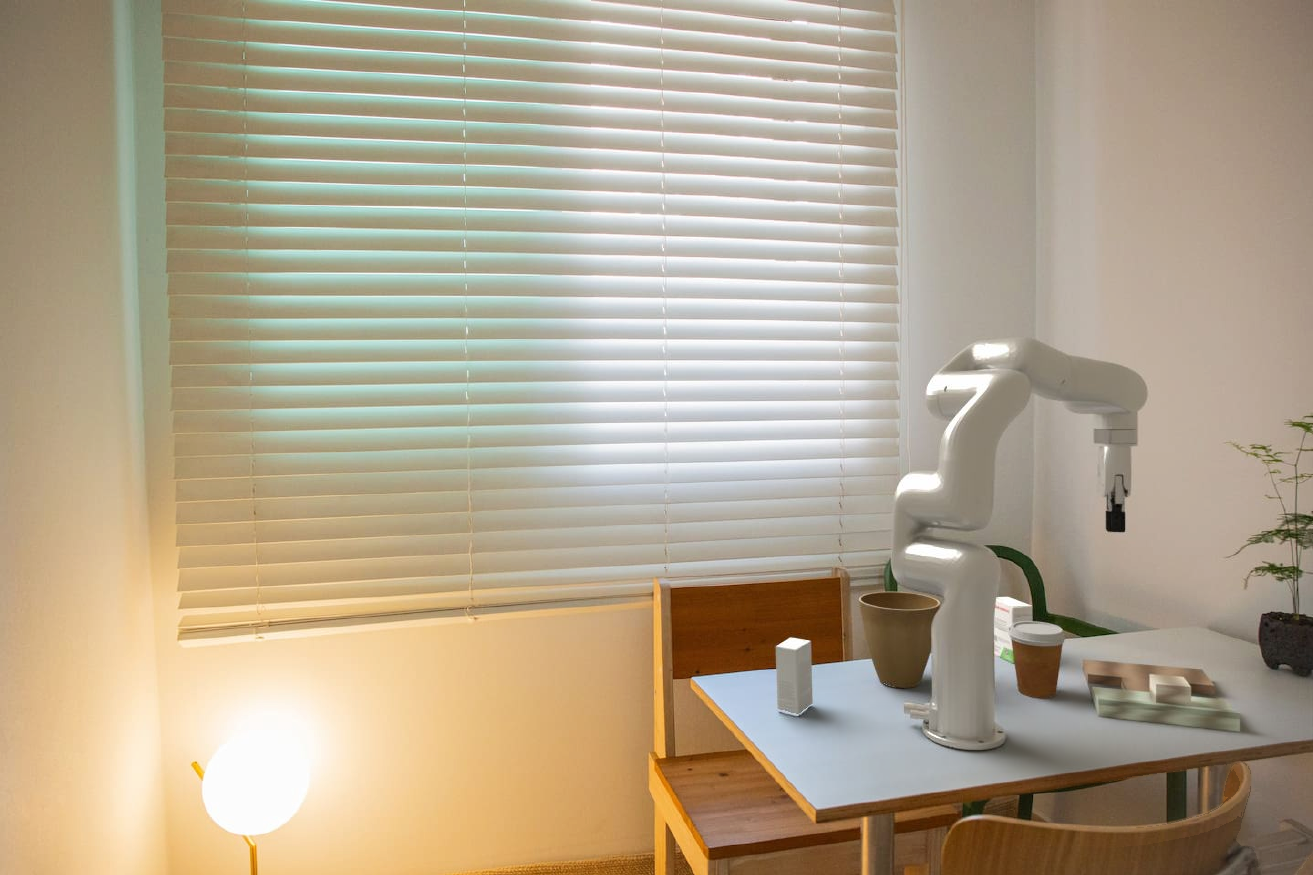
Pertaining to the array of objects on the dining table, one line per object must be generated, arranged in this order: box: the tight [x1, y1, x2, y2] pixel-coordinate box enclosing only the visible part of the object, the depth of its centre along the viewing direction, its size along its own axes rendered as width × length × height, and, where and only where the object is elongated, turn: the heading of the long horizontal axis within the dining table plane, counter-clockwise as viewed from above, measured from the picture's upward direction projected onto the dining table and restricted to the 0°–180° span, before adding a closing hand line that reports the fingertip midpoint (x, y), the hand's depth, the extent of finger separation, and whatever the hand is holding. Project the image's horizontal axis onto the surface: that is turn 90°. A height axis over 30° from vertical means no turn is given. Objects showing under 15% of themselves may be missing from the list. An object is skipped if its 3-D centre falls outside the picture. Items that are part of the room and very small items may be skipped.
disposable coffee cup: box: [1008, 620, 1067, 699], centre depth 149 cm, size 10×10×12 cm
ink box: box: [994, 596, 1034, 665], centre depth 169 cm, size 9×5×12 cm, turn 11°
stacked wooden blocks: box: [1082, 658, 1241, 733], centre depth 145 cm, size 20×25×3 cm
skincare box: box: [775, 637, 814, 714], centre depth 144 cm, size 6×4×12 cm
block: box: [1150, 674, 1191, 706], centre depth 137 cm, size 5×5×4 cm
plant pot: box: [858, 591, 941, 689], centre depth 156 cm, size 15×15×16 cm
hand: (1115, 531), depth 159 cm, fingers closed
